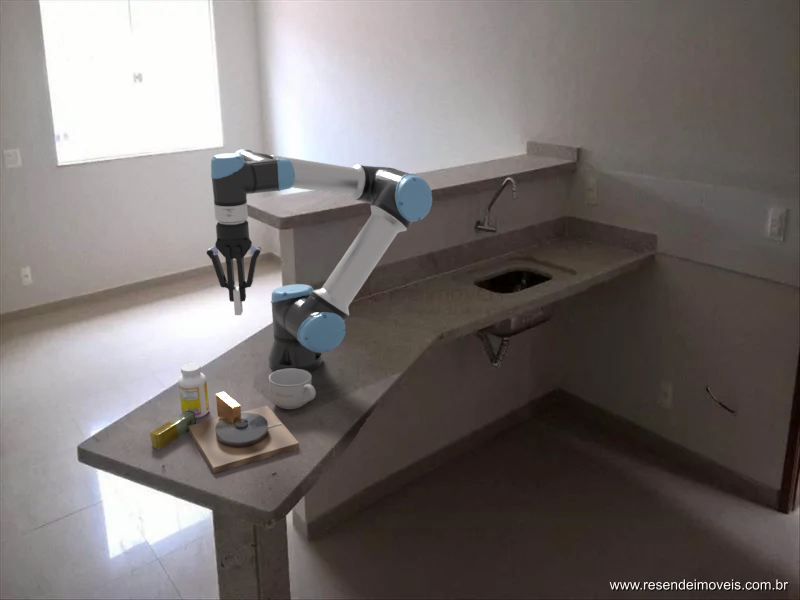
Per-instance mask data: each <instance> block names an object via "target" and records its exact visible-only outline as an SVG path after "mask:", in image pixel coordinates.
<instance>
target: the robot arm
mask: <svg viewBox="0 0 800 600" xmlns="http://www.w3.org/2000/svg"><path fill="white" fill-rule="evenodd" d="M210 162H211V163H210V172H211V174H210V178H211V183H212V184H211V185H212V192H213V206H214V207H213V208H214V217H215V220H216V222H215V232H216V241H215V245H214V246H211V247H208V249H207V250H206V255H207V256H208V257H209V258H210V260H211V262H212V265H213V269H214V270H215V274H216V277H217V280H218V283H219V284H220V287H221V288H225V289H227V290H228V297H229V301H230V302H232V303H233V309H234V316H242V315H243V308H244V307H243V302H246V298H247V293H246V289H247V288H251V287H252V284H253V281H254V276H255V272H256V267H257V260H258V258H259V256H260V254H261V251H262V248H261V247H259V246H258V247H257V246H255V245H254V244H253V242H252V240H251V239H250V230H249V229H250V228H249V221H248V220H247V219H248V218H249V212H248V199H247V196H248V195H251V194H259V193H267V192H268V193H270V192H281V191H284V190H285V191H286V190H290V189H291V188H295V189H302V190H307V191H308V190H309V191H315V192H323V193H329V194H336V195H345V196H348V197H349V198H350V199H351V200H353V201H361V202H364V203H366V204H369V205H370V211H371V215H370V216H369V218H368V219H367V221H365V224H364V225H363V226H362V229H361V230H360V231H359V233H358V234H357V236H356V237H355V238H354V239H353V241H352V243H351V245H349V247H348V248H347V250H346V252H345V253H344V255H343V256H342V258H341V259H340V261H338V263H337V264H336V266H335V268H334V269H333V270H332V271H331V274H330V275H329V277H328V278H327V280H326V281H325V283H324V284H323V285H322V287H320V288H318V289H314V288H313V287H312V286H311V285H309V284H303V283H302V284H299V283H297V284H294V283H293V284H287V285H282V286H279V287H277V288H275V289H273V291H272V292H271V301H270V303H271V313H272V315H271V316H272V329H273V341H272V344H271V347H270V351H269V355H268V365H269V367H270V369H271V370H273V371H274V372H275V371H277V370H282V369H289V368H295V369H302V370H305V371H308V372H309V373H311V372H312V371H315V370H317V369H318V368H319V367H321V365H322V364H323V354H322V353H327V352H330V351H333V350H334V349H335V348H337V347H338V346H339V345H340V344H341V343H342V342H343V340H344V338H345V335H346V324H345V322H346V320H347V319H348V318H349V316H350V312H349V306H350V304H351V303H352V302H353V300H354V298H355V297H356V296H357V294H358V293H359V291H360V290H361V288H362V287H363V286H364V284H365V283H366V281H367V280H368V277H369V276H370V275H371V273H372V272H373V271H374V269H375V268H376V266H377V264H378V263H379V262H380V260H381V258H382V257H383V256H384V254H385V253H386V251H387V250H388V248H389V246H390V245H391V244H392V242H393V241H394V240H395V238H396V237H397V236H398V233H401V232H402V233H403V232H407V230H409V227H410V226H411V224H412V223H414V222H419V221H421V220H423V219H424V218H426V216H427V215H428V214H429V213H430V210H431V207H432V204H433V195H432V194H433V192H432V188H431V187H430V185H429V183H428V182H427V180H425V179H424V178H422V177H421V176H418V175H417V174H414V173H409V172H405V171H402V170H399V169H396V168H393V167H390V166H389V167H387V166H370V165H363V164H362V165H360V164H354V165H353V166H352V167H350V166H344V165H337V164H332V163H324V162H318V161H312V160H305V159H298V158H294V157H293V158H292V157H286V156H281V155H280V156H279V155H272V154H267V153H260V152H255V151H253V150H250V149H239V150H236V151H235V152H232V153H228V152H225V153H219V154H215V155H213V156H212V158H211V160H210ZM249 250H250V255H251V259H250V263H249V268H248V272H247V279H246V277H245V275H246V274H245V262H244V260H245V256H246V255H247V253H248V252H249ZM219 253H220V254H221V255H222V256H223V257H224V259H225V264H226V266H225V267H226V274H225V272H224V271H225V270H224V269H223V266H222V263H221V260H220V257H219ZM234 260H235V262H236V266H237V267H236V268H237V280H238V282H237V283H238V286H235V285H236V283H235V282H236V281H235V272H234V271H235V270H234ZM226 277H227V278H226Z"/></svg>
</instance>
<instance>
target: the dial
mask: <svg viewBox="0 0 800 600" xmlns="http://www.w3.org/2000/svg"><path fill="white" fill-rule="evenodd" d="M215 400H216V408H217V409H216V410H217V416H218V418H221V419H222V420H220V421H219V422H218V423H217V425H216V427H215V431H216V438H217V440H218V441H219V442H220V443H221V444H223V445H226V446H230V447H245V446H250V445H253V444H256V443H258V442H260V441H262V440H263V439H264V438H265V437H266V436H267V434H268V422H267V420H266V419H265V418H264V417H263V416H261V415H258V414H255V413H241V412H242V411H241V404H239V403H238V402H237V401H236V400H235V399H233V398H232V397H230V395H228V394H227V393H226V392H225V391H221V392H218V393H215Z"/></svg>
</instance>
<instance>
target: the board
mask: <svg viewBox="0 0 800 600" xmlns="http://www.w3.org/2000/svg"><path fill="white" fill-rule="evenodd" d="M241 413H255V414H258V415H261V416H263V417H264V418H265V419H266V420H267V422H268V434H267V436H266V437H265V438H264V439H263V440H262V441H260V442H258V443H256V444H253V445H250V446H245V447H230V446H226V445H223V444H221V443H220V442H219V441H218V440H217V438H216V431H215V427H216V425H217V423H218V422H219V421H220V420H222V419H221V418H220V417H217V418H214V419H210V420H205V421H203V422H202V421H201V422H198V423H197V422H196V424H194V425H190V426H188V430H189V432H188V433H189V435H190V436H191V438H192V439H193V441H194V443H195V444H196V446H197V448H198V449H199V451H200V453H201V455H202V456H203V457H204V459H205V461H206V463H207V464H208V466H209V467H210V469H211V471H212V472H213V474H217V473H221V472H223V471H227V470H230V469H234V468H237V467H241V466H245V465H247V464H250V463H254V462H256V461H257V462H258V461H261V460H265V459H269V458H271V457H275V456H278V455H282V454H286V453H289V452H291V451H295V450H298V449H300V443H299V441H298V440H297V439H296V438H295V437H294V435H293V434H292V433H291V432H290V430H289V429H288V428H287V427H286V426H285V424H283V423H282V421H281V420H280V419H279V417H278V416H277V415H276V414H275V413H274V412H273V410H272V409H271V408H270V407H269V406H268V405H264V406H260V407H256V408H252V409H249V410H244V411H241Z"/></svg>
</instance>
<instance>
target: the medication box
mask: <svg viewBox="0 0 800 600" xmlns="http://www.w3.org/2000/svg"><path fill="white" fill-rule="evenodd" d="M196 420H197V419H196V418H195V413H194V412H192V411H185V412H184V413H182V412H181V414H179V415H177V416H175V417H174V418H172V419H170V420H169V421H167V422H166V423H164V424H162V425H160V426H159V427H157V428H156V429H154V430H152V431H151V432H150V433H149V435H150V442H151V447H152V446H153V448H155V449H158V450H161V449H163V448H164V447H167V445H169V444H171V443H173V442H174V441H176V440H177V439H180V437H182V436H184V435H185V434H187V433H189V430H188V426H190V425H194V424H197V421H196Z"/></svg>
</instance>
